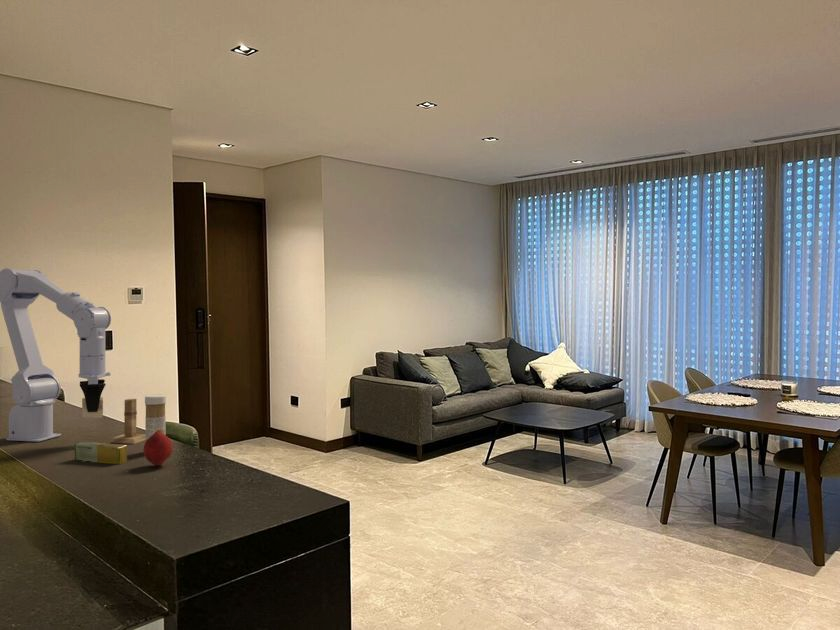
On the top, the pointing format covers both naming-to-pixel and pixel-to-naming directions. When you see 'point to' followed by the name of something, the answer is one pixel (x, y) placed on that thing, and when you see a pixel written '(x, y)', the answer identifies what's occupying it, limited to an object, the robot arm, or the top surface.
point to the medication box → (101, 452)
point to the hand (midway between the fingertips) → (92, 410)
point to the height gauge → (129, 425)
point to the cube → (92, 414)
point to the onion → (158, 448)
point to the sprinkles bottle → (154, 414)
